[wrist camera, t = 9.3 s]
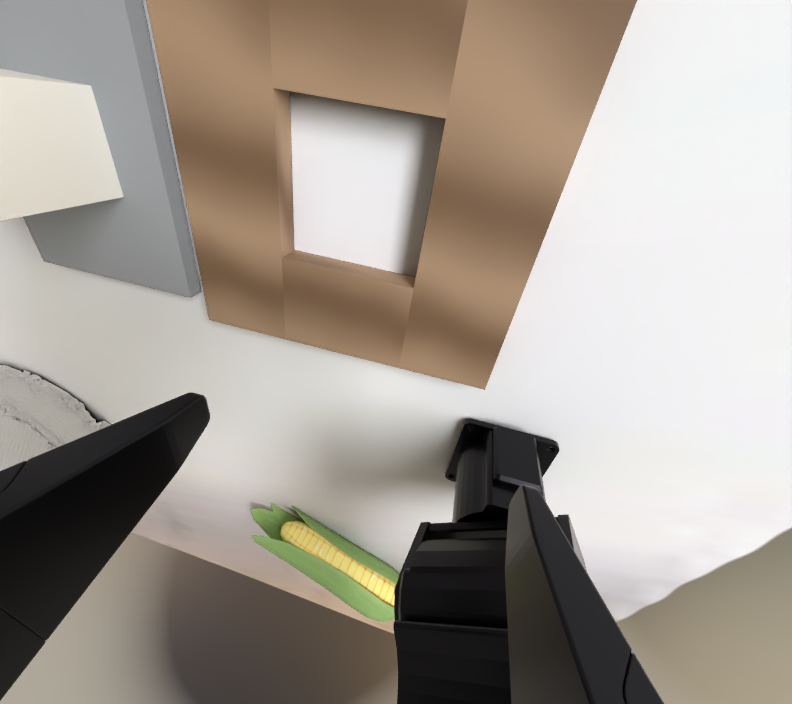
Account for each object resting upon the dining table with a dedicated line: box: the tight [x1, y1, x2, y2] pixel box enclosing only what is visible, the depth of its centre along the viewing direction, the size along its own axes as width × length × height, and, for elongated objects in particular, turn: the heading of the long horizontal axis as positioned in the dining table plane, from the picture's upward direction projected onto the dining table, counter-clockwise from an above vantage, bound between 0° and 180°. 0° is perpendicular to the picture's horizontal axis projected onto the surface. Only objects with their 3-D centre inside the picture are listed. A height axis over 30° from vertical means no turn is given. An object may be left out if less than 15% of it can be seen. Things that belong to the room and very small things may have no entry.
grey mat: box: [0, 0, 201, 297], centre depth 18 cm, size 16×11×1 cm
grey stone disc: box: [0, 365, 111, 471], centre depth 36 cm, size 20×20×7 cm
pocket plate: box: [146, 0, 637, 390], centre depth 17 cm, size 18×18×2 cm
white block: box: [0, 69, 123, 221], centre depth 16 cm, size 5×5×6 cm
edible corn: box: [251, 503, 400, 622], centre depth 36 cm, size 5×20×5 cm
